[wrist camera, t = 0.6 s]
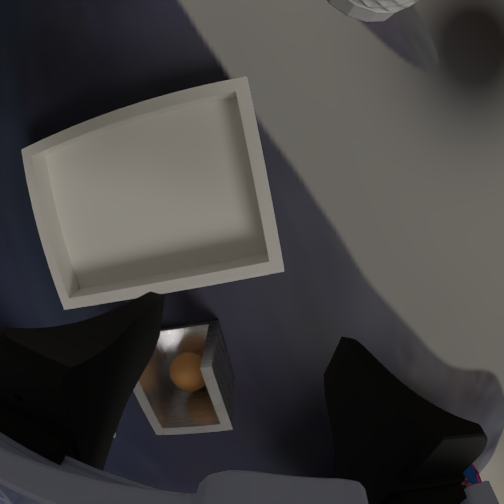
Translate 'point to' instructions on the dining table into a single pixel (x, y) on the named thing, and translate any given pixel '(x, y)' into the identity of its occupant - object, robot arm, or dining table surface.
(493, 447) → the dining table surface
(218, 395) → the silver open box
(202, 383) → the ball
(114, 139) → the tray
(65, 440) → the robot arm
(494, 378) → the dining table surface
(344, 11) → the white cup
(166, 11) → the dining table surface
